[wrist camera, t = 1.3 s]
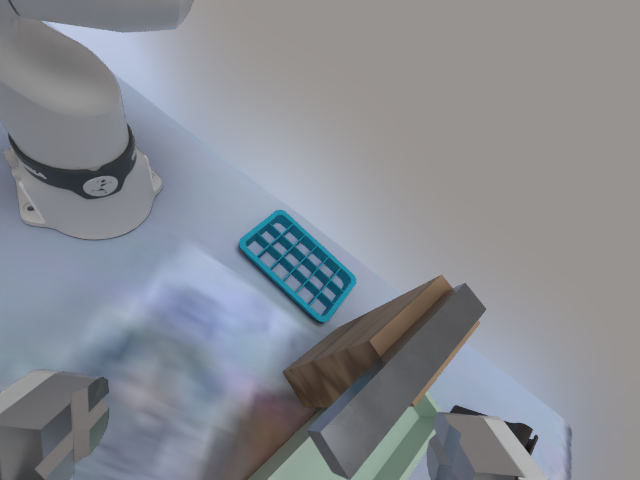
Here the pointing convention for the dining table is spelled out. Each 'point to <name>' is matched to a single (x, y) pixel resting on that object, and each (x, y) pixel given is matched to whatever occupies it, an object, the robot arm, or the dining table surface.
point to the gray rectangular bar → (393, 383)
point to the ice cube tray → (314, 247)
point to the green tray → (380, 467)
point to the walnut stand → (363, 347)
